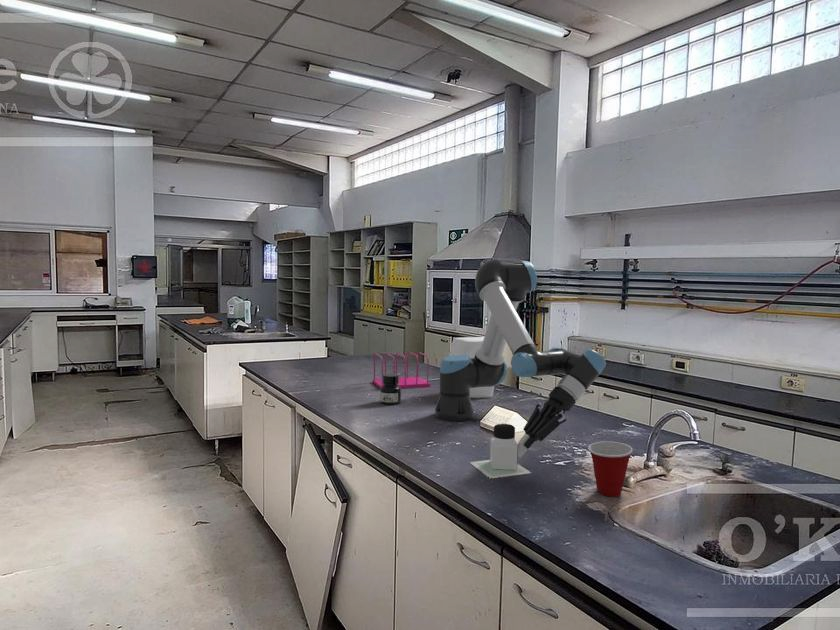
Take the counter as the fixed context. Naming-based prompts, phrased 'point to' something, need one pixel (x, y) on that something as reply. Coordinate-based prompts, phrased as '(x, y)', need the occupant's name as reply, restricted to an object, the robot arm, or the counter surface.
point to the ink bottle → (390, 389)
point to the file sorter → (405, 381)
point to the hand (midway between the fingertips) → (516, 454)
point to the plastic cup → (610, 466)
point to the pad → (493, 473)
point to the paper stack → (469, 348)
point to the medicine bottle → (504, 448)
